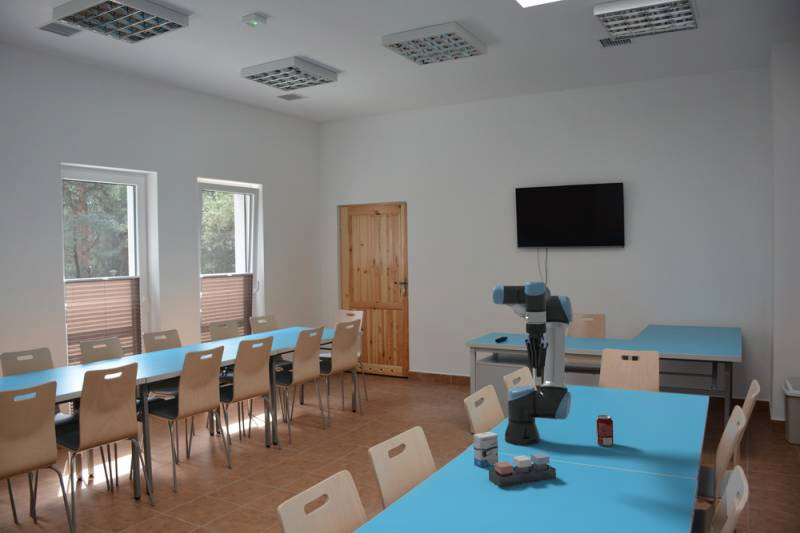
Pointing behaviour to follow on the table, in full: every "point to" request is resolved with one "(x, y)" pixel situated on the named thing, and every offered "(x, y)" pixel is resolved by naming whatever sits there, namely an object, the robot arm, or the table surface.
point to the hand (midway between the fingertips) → (537, 384)
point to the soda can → (604, 430)
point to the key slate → (540, 460)
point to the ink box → (485, 449)
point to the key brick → (503, 468)
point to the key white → (522, 463)
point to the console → (522, 476)
